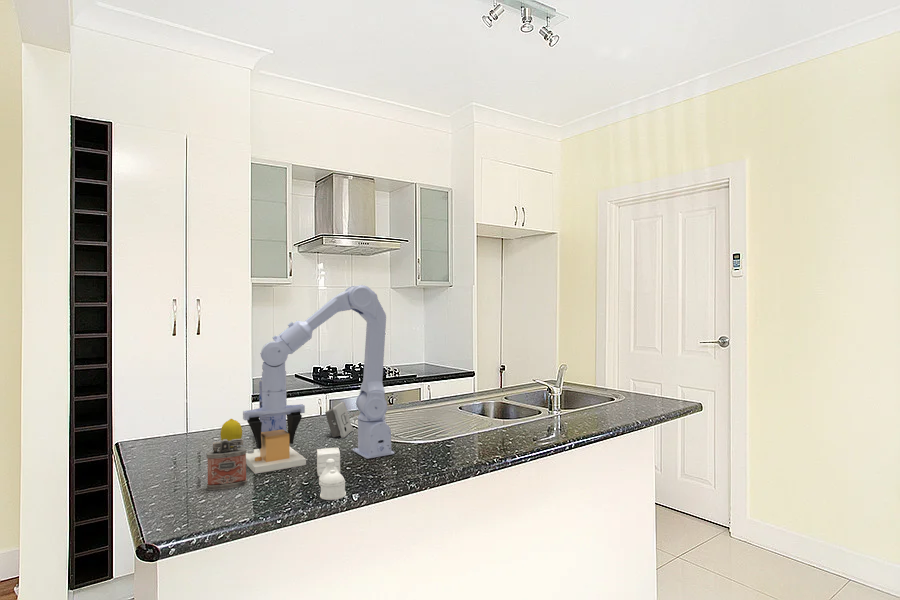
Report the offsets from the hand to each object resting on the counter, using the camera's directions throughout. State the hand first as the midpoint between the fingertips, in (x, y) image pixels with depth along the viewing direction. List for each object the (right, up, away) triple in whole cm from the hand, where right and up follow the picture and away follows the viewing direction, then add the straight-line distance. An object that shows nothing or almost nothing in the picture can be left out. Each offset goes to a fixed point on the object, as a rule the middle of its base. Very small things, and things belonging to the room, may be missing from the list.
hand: (274, 445), depth 133 cm
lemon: (-17, -5, +15) cm, 23 cm away
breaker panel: (-1, -5, +2) cm, 5 cm away
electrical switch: (+10, -5, +29) cm, 31 cm away
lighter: (-5, -5, -16) cm, 17 cm away
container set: (+17, -5, -15) cm, 23 cm away
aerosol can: (-10, -5, +28) cm, 30 cm away
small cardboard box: (0, -3, 0) cm, 3 cm away
